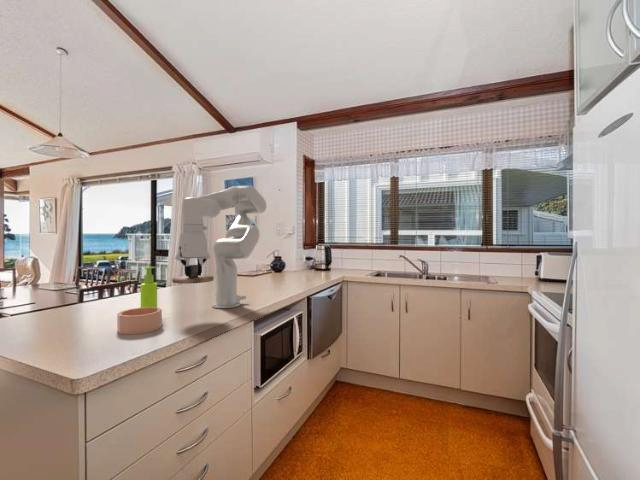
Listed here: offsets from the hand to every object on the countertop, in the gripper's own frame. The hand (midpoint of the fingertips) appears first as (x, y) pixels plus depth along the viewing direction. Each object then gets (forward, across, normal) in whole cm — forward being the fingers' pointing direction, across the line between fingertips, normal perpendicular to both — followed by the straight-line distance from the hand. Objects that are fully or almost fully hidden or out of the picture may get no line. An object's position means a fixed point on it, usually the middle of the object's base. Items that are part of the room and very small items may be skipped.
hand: (193, 275), depth 121 cm
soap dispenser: (+17, +11, -18) cm, 27 cm away
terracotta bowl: (+17, +19, 0) cm, 25 cm away
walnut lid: (+2, 0, 0) cm, 2 cm away
